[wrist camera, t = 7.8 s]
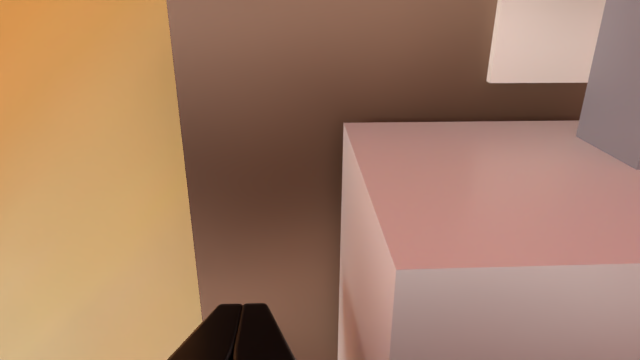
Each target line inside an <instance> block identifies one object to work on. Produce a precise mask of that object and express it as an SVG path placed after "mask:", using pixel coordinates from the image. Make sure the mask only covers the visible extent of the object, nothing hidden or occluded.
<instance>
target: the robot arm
mask: <svg viewBox="0 0 640 360" xmlns="http://www.w3.org/2000/svg"><path fill="white" fill-rule="evenodd" d="M167 360H296V359H295V357H294V355H293V353H292V351H291V349H290V347H289V345H288V343H287V341H286V340H285V338H284V336H283V334H282V332H281V330H280V328H279V326H278V324H277V322H276V320H275V318H274V317H273V315H272V313H271V311H270V309H269V307H268V305H267V304H265V303H246V304H244V305H242V304H240V303H236V304H220V305H218V306H217V307H216V308H215V309H214V310H213V311H212V312H211V313H210V314H209V315H208V317H207V318H206V319H205V320H204V321H203V322H202V323H201V324H200V325H199V326H198V327H197V328H196V329H195V330H194V332H193V333H192V334H191V335H190V336H189V337H188V338H187V339H186V340H185V341H184V342H183V343H182V344H181V346H180V347H179V348H178V349H177V350H176V351H175V352H174V353H173V354H172V355H171V356H170V357H169V358H168V359H167Z"/></svg>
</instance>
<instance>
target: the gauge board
mask: <svg viewBox="0 0 640 360" xmlns="http://www.w3.org/2000/svg"><path fill="white" fill-rule="evenodd" d="M605 3H606V0H167V9H168V18H169V27H170V36H171V44H172V53H173V62H174V71H175V80H176V89H177V98H178V107H179V116H180V125H181V134H182V142H183V151H184V160H185V169H186V178H187V187H188V196H189V205H190V214H191V223H192V232H193V241H194V249H195V258H196V267H197V276H198V285H199V294H200V303H201V312H202V321H204V320H205V319H206V318H207V317H208V315H209V314H210V313H211V312H212V311H213V310H214V309H215V308H216V307H217V306H218V305H220V304H236V303H240V304H242V305H244V304H246V303H265V304H267V305H268V307H269V309H270V311H271V313H272V315H273V317H274V318H275V320H276V322H277V324H278V326H279V328H280V330H281V332H282V334H283V336H284V338H285V340H286V341H287V343H288V345H289V347H290V349H291V351H292V353H293V355H294V357H295V359H296V360H338V321H339V281H340V242H341V202H342V162H343V123H371V122H473V121H575V120H579V119H580V115H581V110H582V106H583V101H584V97H585V92H586V88H587V83H588V79H589V74H590V70H591V65H592V61H593V56H594V52H595V47H596V43H597V38H598V34H599V29H600V25H601V20H602V16H603V12H604V7H605Z"/></svg>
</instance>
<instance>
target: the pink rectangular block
mask: <svg viewBox="0 0 640 360" xmlns="http://www.w3.org/2000/svg"><path fill="white" fill-rule="evenodd" d="M338 360H640V0H606V3H605V7H604V12H603V16H602V20H601V25H600V29H599V34H598V38H597V43H596V47H595V52H594V56H593V61H592V65H591V70H590V74H589V79H588V83H587V88H586V92H585V97H584V101H583V106H582V110H581V115H580V119H579V120H575V121H473V122H371V123H343V162H342V202H341V242H340V281H339V321H338Z"/></svg>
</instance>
